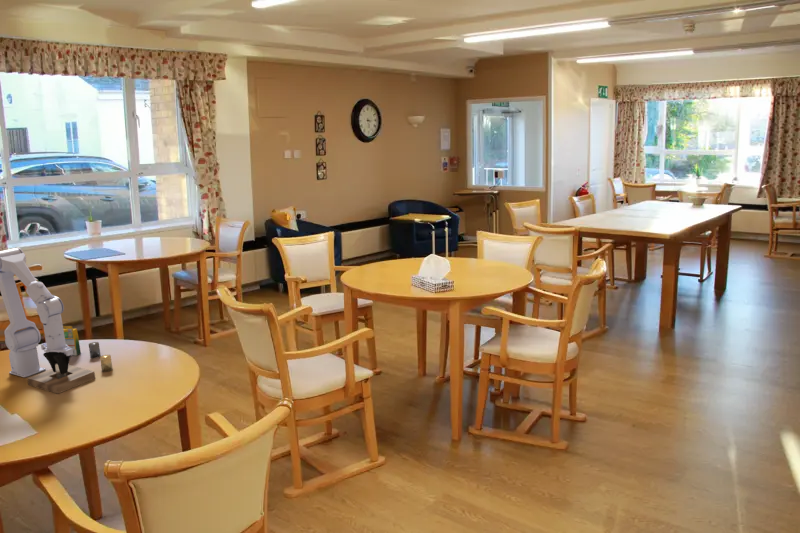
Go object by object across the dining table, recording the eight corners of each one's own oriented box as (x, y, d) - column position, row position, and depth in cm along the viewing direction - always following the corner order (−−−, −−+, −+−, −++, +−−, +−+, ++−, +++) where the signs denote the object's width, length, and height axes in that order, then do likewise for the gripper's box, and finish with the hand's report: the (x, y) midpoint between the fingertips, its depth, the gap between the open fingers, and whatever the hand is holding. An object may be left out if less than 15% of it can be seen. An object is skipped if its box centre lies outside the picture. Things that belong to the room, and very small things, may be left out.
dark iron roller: (88, 357, 258) (86, 344, 257) (96, 354, 261) (94, 341, 260) (94, 358, 256) (92, 345, 255) (102, 355, 259) (100, 342, 258)
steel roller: (54, 377, 235) (52, 363, 234) (64, 373, 238) (62, 360, 237) (60, 379, 233) (58, 365, 232) (70, 376, 236) (68, 362, 235)
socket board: (28, 384, 234) (27, 378, 233) (66, 370, 245) (65, 363, 245) (57, 393, 226) (56, 386, 225) (95, 378, 237) (94, 371, 237)
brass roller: (99, 370, 244) (97, 357, 243) (108, 367, 247) (106, 354, 246) (106, 372, 242) (104, 358, 241) (114, 368, 245) (112, 355, 244)
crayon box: (81, 352, 262) (76, 323, 260) (77, 355, 260) (72, 326, 257) (62, 352, 263) (58, 323, 260) (58, 355, 260) (53, 326, 258)
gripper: (30, 334, 232) (36, 372, 235) (56, 340, 224) (63, 380, 228) (49, 328, 238) (55, 365, 241) (76, 334, 230) (82, 372, 233)
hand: (60, 372), depth 235 cm, fingers closed on steel roller, 3 cm apart
